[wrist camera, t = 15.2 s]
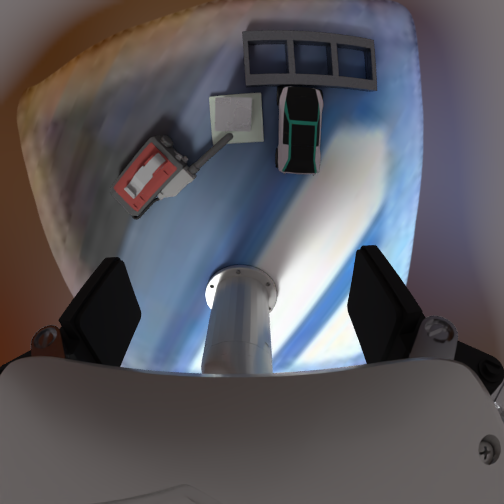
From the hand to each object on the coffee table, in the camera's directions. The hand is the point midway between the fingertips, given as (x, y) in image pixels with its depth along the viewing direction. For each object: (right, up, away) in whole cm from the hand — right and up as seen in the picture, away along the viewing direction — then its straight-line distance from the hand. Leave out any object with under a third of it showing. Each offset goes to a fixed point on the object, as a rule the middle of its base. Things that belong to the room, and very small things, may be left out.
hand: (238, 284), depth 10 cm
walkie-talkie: (-12, +14, +27) cm, 32 cm away
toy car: (+7, +19, +25) cm, 32 cm away
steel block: (-2, +20, +23) cm, 30 cm away
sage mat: (-2, +20, +24) cm, 31 cm away
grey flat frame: (+8, +27, +19) cm, 35 cm away
